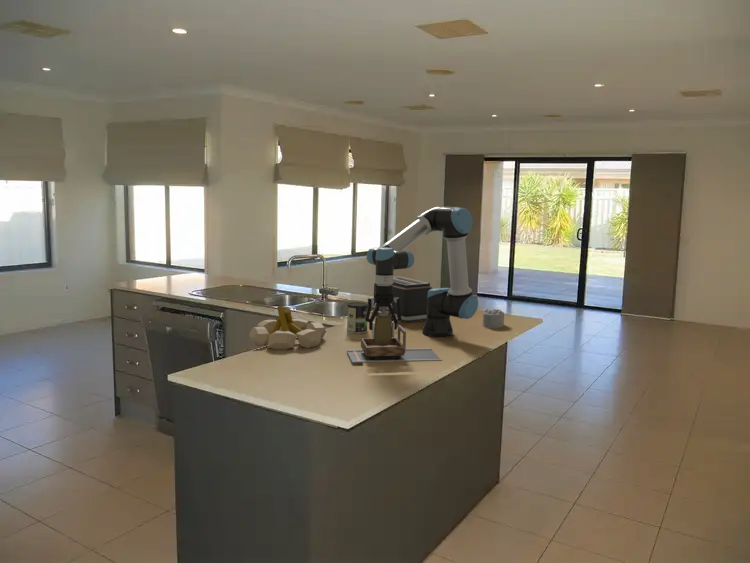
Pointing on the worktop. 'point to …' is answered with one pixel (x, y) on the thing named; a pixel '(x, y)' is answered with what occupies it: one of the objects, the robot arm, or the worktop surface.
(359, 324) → the coffee can
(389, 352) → the cart
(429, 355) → the track
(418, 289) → the toaster
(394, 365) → the worktop surface
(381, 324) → the squeeze bottle
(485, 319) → the lumpy-topped squat cylinder
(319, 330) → the campfire
